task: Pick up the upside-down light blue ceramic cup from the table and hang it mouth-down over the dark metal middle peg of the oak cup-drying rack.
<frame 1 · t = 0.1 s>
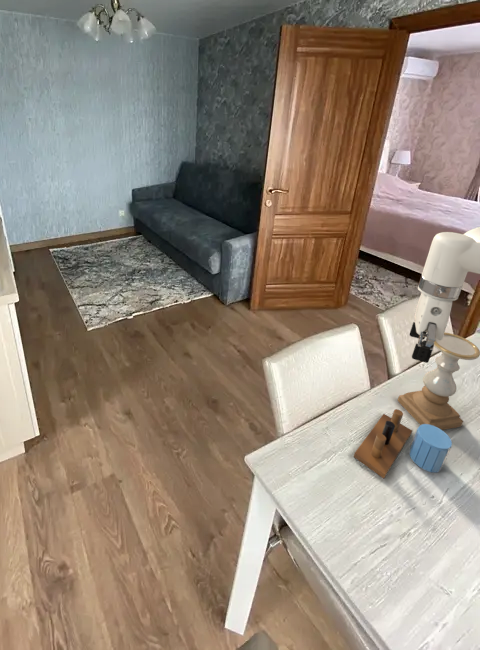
hand: (418, 348, 84), 25 cm above the table, tool pointing down, fingers open, 9 cm apart
rack: (383, 445, 88), on the table
cup: (425, 459, 84), on the table
candle holder: (427, 413, 97), on the table
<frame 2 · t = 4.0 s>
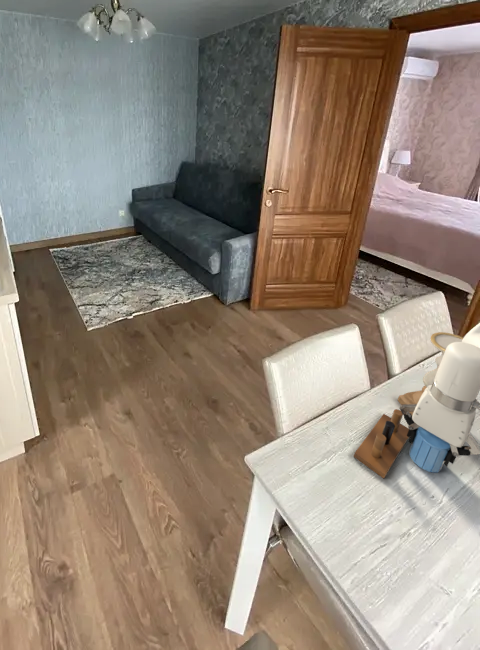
hand: (428, 450, 83), 3 cm above the table, tool pointing down, fingers closed on cup, 6 cm apart
cup: (424, 459, 84), on the table, touching gripper
everything else where it was.
when the fingers open (5 cm above the table, at t = 10.4 s): cup stays where it is, resting on rack.
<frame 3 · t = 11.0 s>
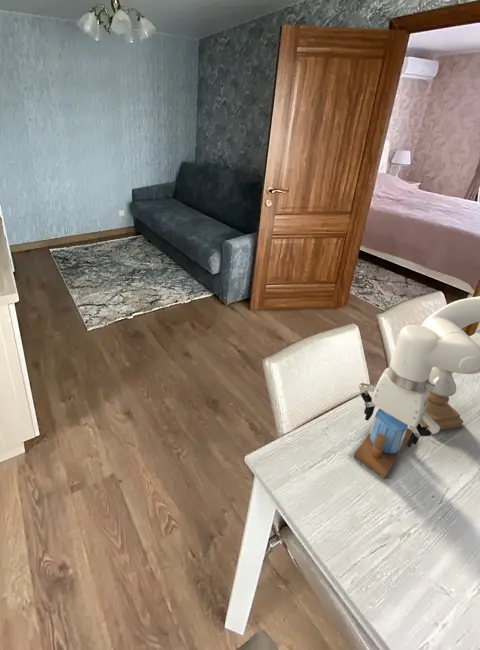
hand: (388, 429, 86), 6 cm above the table, tool pointing down, fingers open, 9 cm apart
cup: (384, 441, 87), point 1 cm above the table, touching rack
everything else where it was.
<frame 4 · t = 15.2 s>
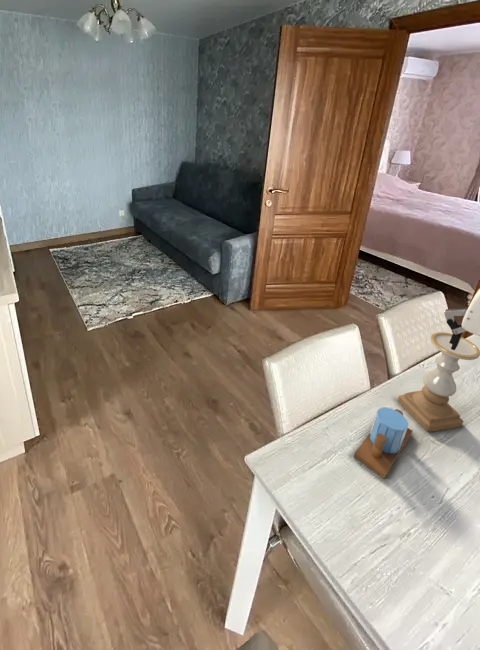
nothing on the table moved.
at the end: cup 0.0 cm off-centre on the rack, point 1.5 cm above the rack's base; cup tilted 0°; the gripper is holding nothing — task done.
